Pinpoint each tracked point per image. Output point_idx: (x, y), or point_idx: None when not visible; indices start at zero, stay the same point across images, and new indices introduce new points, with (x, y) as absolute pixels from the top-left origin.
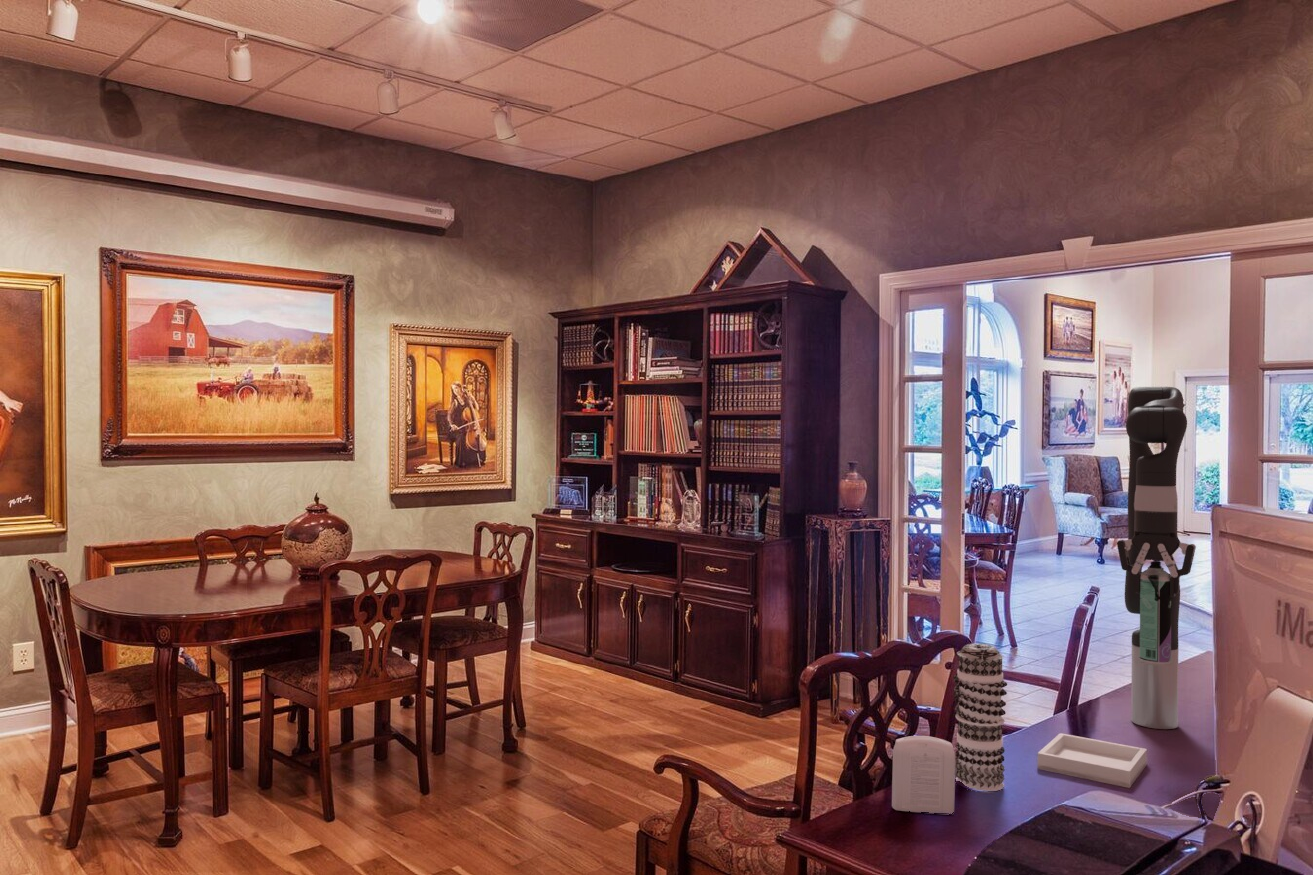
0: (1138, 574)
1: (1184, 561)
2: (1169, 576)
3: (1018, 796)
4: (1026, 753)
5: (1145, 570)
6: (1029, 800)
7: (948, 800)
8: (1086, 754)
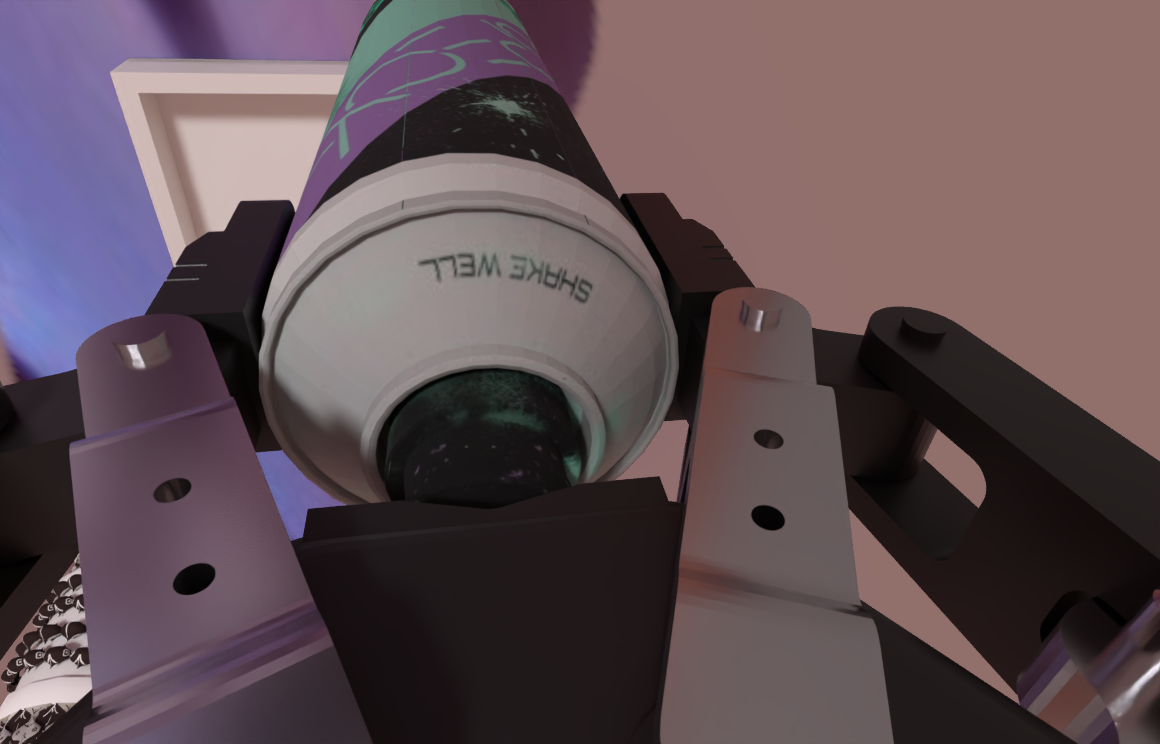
0: (254, 434)
1: (939, 597)
2: (658, 408)
3: (281, 484)
4: (94, 199)
5: (343, 463)
6: (309, 488)
7: None
8: (258, 131)
